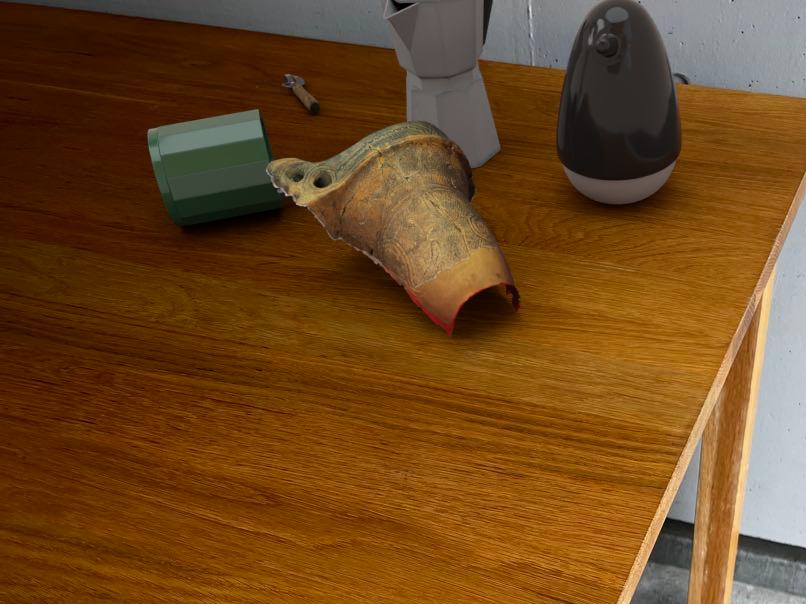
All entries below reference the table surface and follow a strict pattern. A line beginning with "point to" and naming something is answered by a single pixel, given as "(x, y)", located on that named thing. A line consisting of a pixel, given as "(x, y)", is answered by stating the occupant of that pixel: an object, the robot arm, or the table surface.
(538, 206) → the table surface
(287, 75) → the can opener
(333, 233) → the tan clay pottery piece
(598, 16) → the pump dispenser
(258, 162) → the cup
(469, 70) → the coffee maker
